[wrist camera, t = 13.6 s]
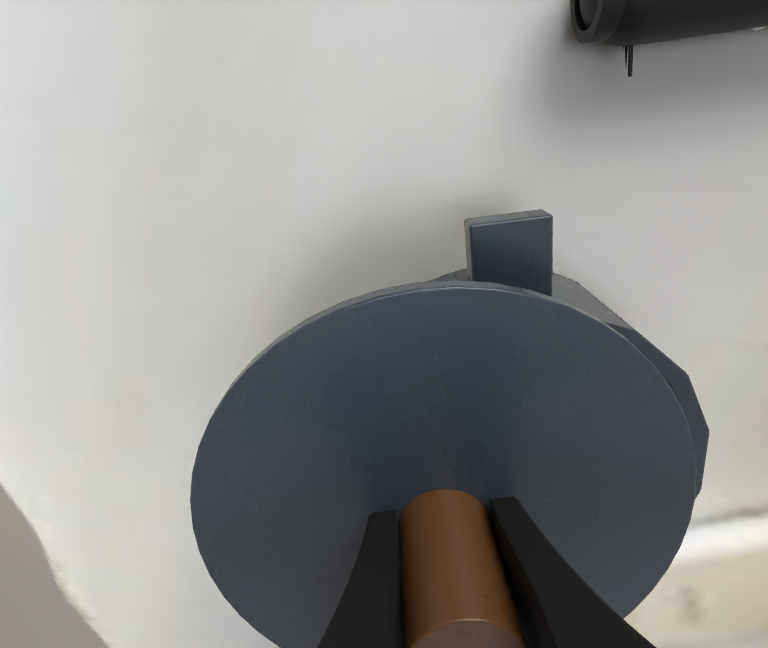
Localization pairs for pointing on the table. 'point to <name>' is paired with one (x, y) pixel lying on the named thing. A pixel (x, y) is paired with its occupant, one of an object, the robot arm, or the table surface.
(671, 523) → the pot lid
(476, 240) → the pot
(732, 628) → the table surface
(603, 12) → the toy submachine gun
